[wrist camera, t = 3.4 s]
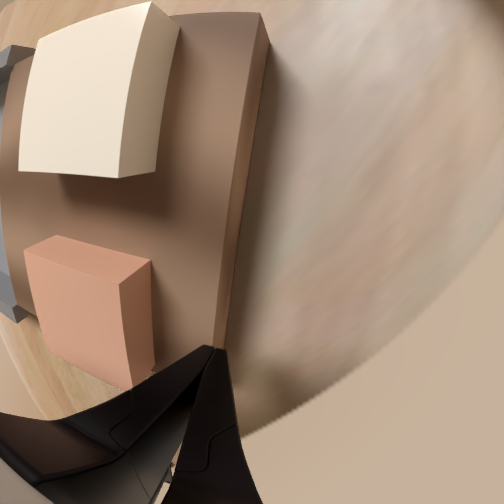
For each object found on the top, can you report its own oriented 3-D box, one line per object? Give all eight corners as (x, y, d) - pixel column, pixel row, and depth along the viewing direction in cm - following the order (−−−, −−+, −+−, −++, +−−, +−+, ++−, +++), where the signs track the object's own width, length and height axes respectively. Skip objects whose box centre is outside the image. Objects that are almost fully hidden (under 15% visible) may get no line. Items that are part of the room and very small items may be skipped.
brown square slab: (223, 353, 13) (208, 388, 11) (41, 288, 15) (17, 304, 12) (269, 41, 8) (260, 12, 6) (43, 69, 10) (12, 65, 7)
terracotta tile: (155, 364, 11) (134, 394, 9) (71, 329, 12) (47, 350, 10) (150, 259, 9) (118, 284, 7) (56, 234, 10) (23, 250, 8)
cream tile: (155, 171, 8) (117, 178, 6) (55, 164, 9) (18, 171, 7) (180, 26, 6) (150, 1, 4) (73, 48, 7) (38, 39, 5)
